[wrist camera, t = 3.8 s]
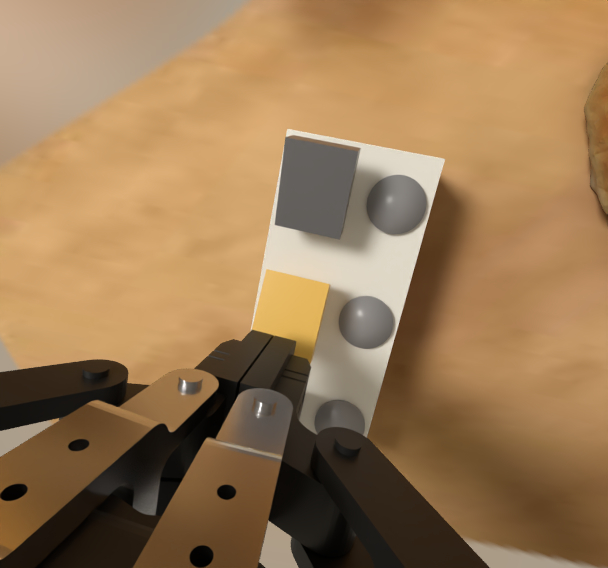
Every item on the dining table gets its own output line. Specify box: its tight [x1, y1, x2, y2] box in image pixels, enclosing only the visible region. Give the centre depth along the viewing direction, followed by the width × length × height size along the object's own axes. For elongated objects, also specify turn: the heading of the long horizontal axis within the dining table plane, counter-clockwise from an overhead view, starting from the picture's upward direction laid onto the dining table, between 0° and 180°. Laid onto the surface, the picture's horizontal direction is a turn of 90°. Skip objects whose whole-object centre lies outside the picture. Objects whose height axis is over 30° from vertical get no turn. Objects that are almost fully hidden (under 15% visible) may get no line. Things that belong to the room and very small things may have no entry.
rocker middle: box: [252, 269, 331, 364], centre depth 15 cm, size 2×3×2 cm
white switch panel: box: [251, 129, 445, 438], centre depth 17 cm, size 6×14×4 cm, turn 168°
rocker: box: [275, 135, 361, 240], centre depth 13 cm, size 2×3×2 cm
